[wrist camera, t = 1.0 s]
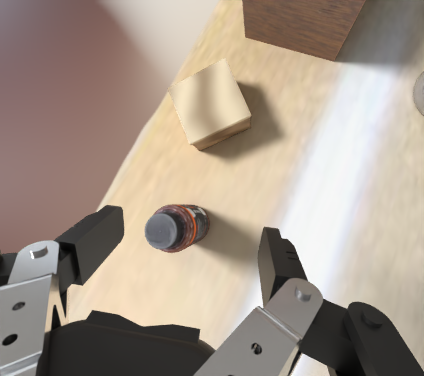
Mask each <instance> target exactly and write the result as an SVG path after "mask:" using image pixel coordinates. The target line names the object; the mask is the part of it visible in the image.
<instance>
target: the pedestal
mask: <svg viewBox="0 0 424 376" xmlns="http://www.w3.org/2000/svg"><path fill="white" fill-rule="evenodd" d="M168 91H169V93H170V96H171V98H172V101H173V104H174V106H175V109H176V111H177V114H178V116H179V119H180V121H181V124H182V127H183V129H184V132H185V134H186V137H187V139H188V142H189V144H190V145H194V146H195V147H196V148H197V149H198V150H199V151H201V150H203V149H205V148H208V147H210V146H212V145H214V144H216V143H218V142H220V141H223V140H225V139H227V138H229V137H231V136H233V135H236V134H238V133H240V132H242V131H244V130H246V129H248V128H251V125H250V117H251V113H250V111H249V109H248V106H247V104H246V102H245V100H244V98H243V95H242V93H241V91H240V89H239V87H238V84H237V82H236V80H235V78H234V76H233V73H232V71H231V69H230V67H229V65H228V62H227V60H226V58H224V59H222V60H220V61H218V62H216V63H214V64H212V65H210V66H209V67H207V68H205V69H203V70H201V71H199V72H197V73H196V74H194V75H192V76H190V77H188V78H186V79H184V80H182V81H181V82H179V83H177V84H175V85H173V86H171V87H169V88H168Z"/></svg>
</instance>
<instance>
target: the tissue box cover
mask: <svg viewBox="0 0 424 376" xmlns="http://www.w3.org/2000/svg"><path fill="white" fill-rule="evenodd" d="M365 1H366V0H242V2H243V14H244V26H245V37H246V38H250V39H254V40H257V41H261V42H264V43H268V44H272V45H275V46H279V47H283V48H286V49H290V50H294V51H297V52H301V53H305V54H308V55H312V56H315V57H319V58H323V59H326V60H330V61H334V60H335V58H336V57H337V55H338V53H339V51H340V49H341V47H342V45H343V43H344V41H345V39H346V37H347V35H348V33H349V31H350V30H351V28H352V26H353V24H354V22H355V20H356V18H357V16H358V14H359V12H360V10H361V8H362V6H363V4H364V3H365Z"/></svg>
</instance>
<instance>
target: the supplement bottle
mask: <svg viewBox="0 0 424 376" xmlns="http://www.w3.org/2000/svg"><path fill="white" fill-rule="evenodd" d="M208 229H209V218H208V216H207V214H206V212H205V211H204V210H203V209H202V208H200V207H198V206H195V205H166V206H163V207H161V208H160V209H158V210H157V211H156V212H155V213H154V215H153V216H152V217H151V218H150V219H149V220H148V221H147V223H146V226H145V237H146V239H147V241H148V243H149V244H150V245H151V246H152V247H154V248H156V249H160V250H162V251H164V252H168V253H175V252H179V251H181V250H183V249H185V248H187V247H189V246H191V245H192V244H194V243H196V242H198V241H199V240H201V239H202V238H203V237H204V236H205V235H206V234H207V232H208Z"/></svg>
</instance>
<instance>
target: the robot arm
mask: <svg viewBox="0 0 424 376" xmlns="http://www.w3.org/2000/svg"><path fill="white" fill-rule="evenodd" d="M413 97H414V102H415V104H416V107H417V109H418V110H419V111H420V112H421V114H422V115H424V72H423V73H422V74H421V75H420V76H419V78H418V79H417V81H416V83H415V86H414V92H413ZM123 236H124V220H123V210H122V208H121V207H119V206H111V205H106V206H105V207H103V208H102V209H101V210H99V211H98V212H96V213H93V214H91V215H88V216H86V217H85V218H84V219H82V220H81V221H80V222H78V223H77V224H75V225H74V227H71V228H70V229H69V230H67V231H66V232H64V233H63V234H62V235H61V236H59V237H58V238H56V239H55V240H54V241H50V240H47V241H40V242H36V243H33V244H31V245H28V246H26V247H25V248H23V249H22V250H21V251H20V252H19V253H8V254H1V251H0V376H291V375H292V373H293V371H294V369H295V367H296V365H297V363H298V361H299V359H300V358H301V356H302V354H305V355H307V356H309V357H311V358H313V359H315V360H317V361H319V362H321V363H323V364H325V365H327V367H328V371H329V374H330V376H424V371H423V370H422V368H421V367H420V365H419V363H418V362H417V360H416V359H415V357H414V356H413V354H412V353H411V351H410V350H409V348H408V346H407V345H406V343H405V342H404V340H403V339H402V337H401V336H400V334H399V332H398V331H397V329H396V328H395V326H394V325H393V323H392V322H391V321H390V319H389V318H388V317H387V316H386V315H385V314H383V313H382V312H381V311H379V310H378V309H376V308H375V307H373V306H371V305H369V304H366V303H362V302H352V303H351V304H350V305H349V306H348V308H347V309H346V308H344V307H341V306H339V305H336V304H334V303H331V302H329V301H327V300H325V299H323V296H322V294H321V292H320V291H319V290H318V288H317V287H316V286H314V285H313V284H312V283H310V282H308V280H307V277H306V275H305V272H304V270H303V267H302V264H301V262H300V260H299V257H298V254H297V252H296V249H295V247H294V245H293V244H292V243H291V242H290V241H289V240H288V239H282V238H281V235H280V232H279V229H278V228H270V227H264V228H263V232H262V236H261V241H260V246H259V251H258V266H259V274H260V282H261V290H262V298H263V307H264V308H261V307H260V306H257V307H256V308H255V309H254V310H253V311H252V312H251V313H250V314H249V315H248V316H247V317H246V318H245V320H244V321H243V322H242V323H241V324H240V325H239V326H238V327H237V328H236V329H235V331H234V332H233V333H232V334H231V335H230V336H229V337H228V338H227V339H226V340H225V341H224V343H223V344H222V345H221V346H220V347H219V348H218V349H217V350H215V349H213V348H212V347H211V346H210V345H208V344H207V343H205V342H204V341H202V340H200V339H199V335H200V329H197V328H191V327H185V326H180V325H174V324H171V325H158V326H146V327H143V326H140V325H138V324H136V323H134V322H132V321H130V320H128V319H126V318H124V317H122V316H120V315H117V314H112V313H106V312H100V311H94V310H92V312H91V313H90V315H89V316H88V317H87V319H86V320H80V321H75V322H72V323H68V322H69V289H68V287H69V286H70V285H71V284H76V285H82V286H83V285H84V283H85V282H86V281H87V280H88V279H89V278H90V277H91V275H92V274H93V273H94V272H95V271H96V270H97V268H98V267H99V266H100V265H101V264H102V263H103V261H104V260H105V259H106V258H107V257H108V256H109V254H110V253H111V252H112V251H113V250H114V249H115V248H116V246H117V245H118V244H119V243H120V242H121V240H122V238H123Z"/></svg>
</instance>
